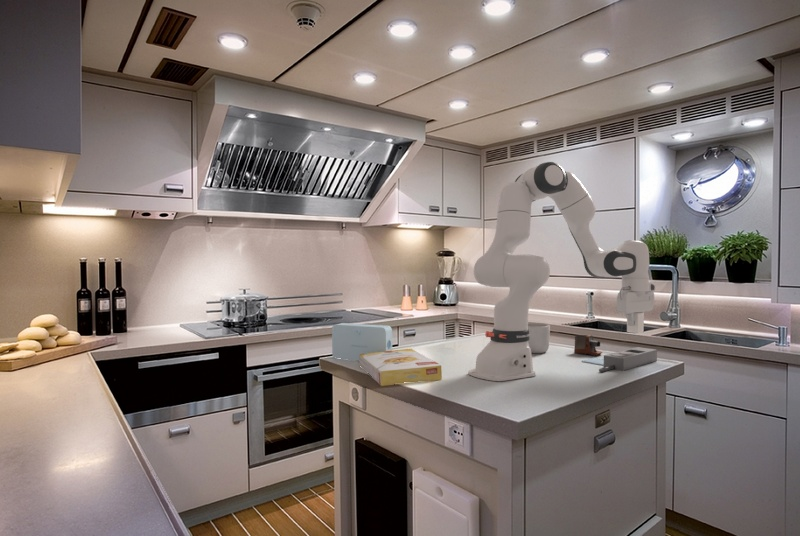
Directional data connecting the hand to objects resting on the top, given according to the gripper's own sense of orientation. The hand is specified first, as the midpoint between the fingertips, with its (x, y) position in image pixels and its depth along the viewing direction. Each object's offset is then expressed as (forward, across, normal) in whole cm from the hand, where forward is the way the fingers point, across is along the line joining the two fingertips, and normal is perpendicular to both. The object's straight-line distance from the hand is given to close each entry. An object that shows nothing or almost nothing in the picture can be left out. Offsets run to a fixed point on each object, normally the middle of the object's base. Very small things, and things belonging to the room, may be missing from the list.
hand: (635, 325), depth 172 cm
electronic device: (+14, +2, +19) cm, 24 cm away
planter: (+14, -10, +36) cm, 40 cm away
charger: (+3, 0, 0) cm, 3 cm away
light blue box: (+15, -72, +68) cm, 100 cm away
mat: (+14, -8, +9) cm, 18 cm away
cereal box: (+15, -74, +43) cm, 86 cm away
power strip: (+14, -7, 0) cm, 15 cm away
